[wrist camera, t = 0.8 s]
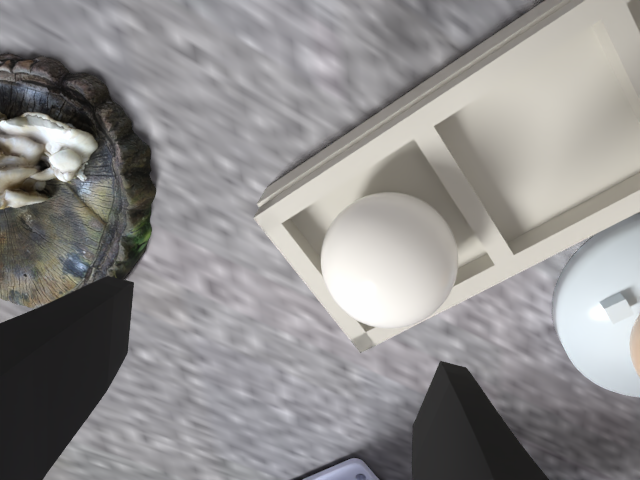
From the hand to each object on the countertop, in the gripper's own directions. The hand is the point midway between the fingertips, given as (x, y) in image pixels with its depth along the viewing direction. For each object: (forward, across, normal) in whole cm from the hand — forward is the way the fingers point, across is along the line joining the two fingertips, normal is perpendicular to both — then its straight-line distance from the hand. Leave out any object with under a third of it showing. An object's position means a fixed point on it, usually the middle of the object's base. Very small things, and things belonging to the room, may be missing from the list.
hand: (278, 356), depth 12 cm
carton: (+10, -7, -5) cm, 13 cm away
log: (+10, +12, +3) cm, 16 cm away
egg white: (+8, -3, 0) cm, 8 cm away
